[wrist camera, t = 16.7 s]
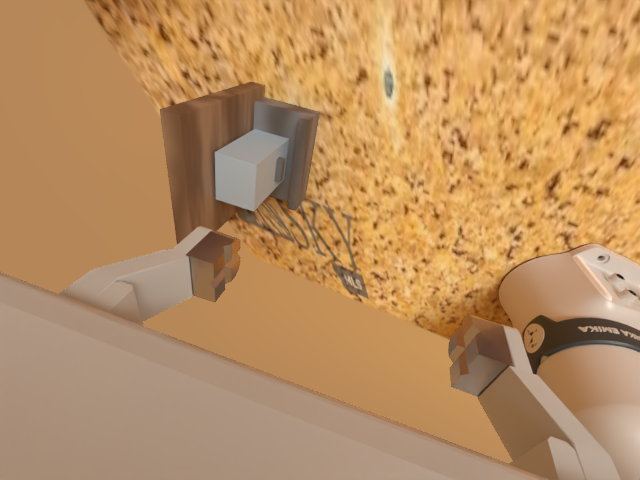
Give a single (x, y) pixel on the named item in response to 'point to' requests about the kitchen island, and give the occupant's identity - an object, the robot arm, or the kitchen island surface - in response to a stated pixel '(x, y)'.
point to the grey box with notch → (250, 168)
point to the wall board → (220, 130)
